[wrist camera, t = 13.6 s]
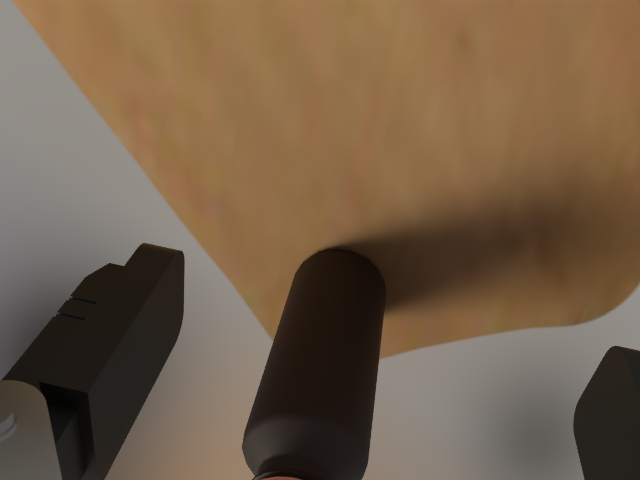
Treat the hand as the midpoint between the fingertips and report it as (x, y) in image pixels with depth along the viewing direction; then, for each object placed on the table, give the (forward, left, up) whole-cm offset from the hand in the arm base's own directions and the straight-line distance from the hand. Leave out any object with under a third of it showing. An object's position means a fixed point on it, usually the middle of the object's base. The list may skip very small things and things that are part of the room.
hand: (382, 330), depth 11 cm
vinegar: (+14, -14, -26) cm, 33 cm away
